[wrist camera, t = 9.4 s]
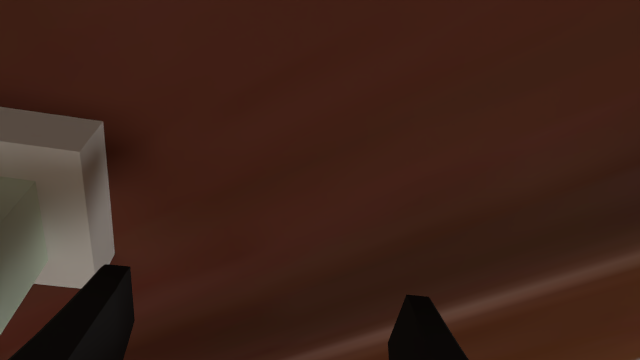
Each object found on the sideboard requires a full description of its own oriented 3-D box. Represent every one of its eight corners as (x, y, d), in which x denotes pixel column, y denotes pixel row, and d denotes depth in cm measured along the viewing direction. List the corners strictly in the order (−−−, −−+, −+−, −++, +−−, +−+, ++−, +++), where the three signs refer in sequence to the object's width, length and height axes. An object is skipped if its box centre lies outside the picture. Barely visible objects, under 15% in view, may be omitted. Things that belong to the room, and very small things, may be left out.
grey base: (117, 248, 26) (96, 290, 23) (-41, 230, 25) (-80, 271, 22) (106, 117, 21) (79, 151, 19) (-87, 89, 20) (-142, 121, 18)
